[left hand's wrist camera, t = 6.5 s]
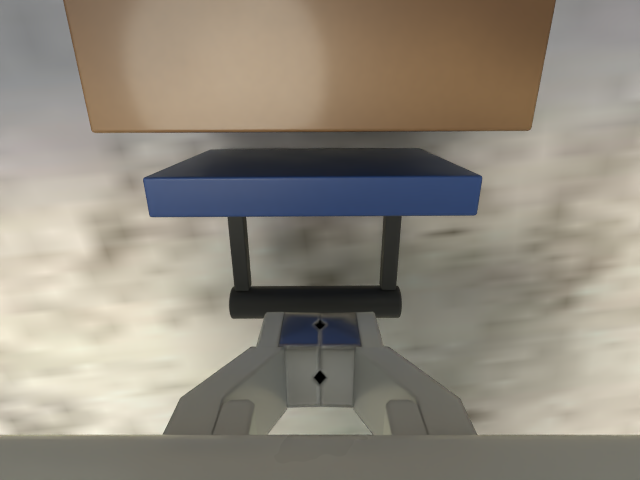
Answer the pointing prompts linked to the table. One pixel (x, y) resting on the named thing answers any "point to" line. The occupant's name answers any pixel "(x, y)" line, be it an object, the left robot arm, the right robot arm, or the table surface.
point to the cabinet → (309, 64)
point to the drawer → (313, 210)
